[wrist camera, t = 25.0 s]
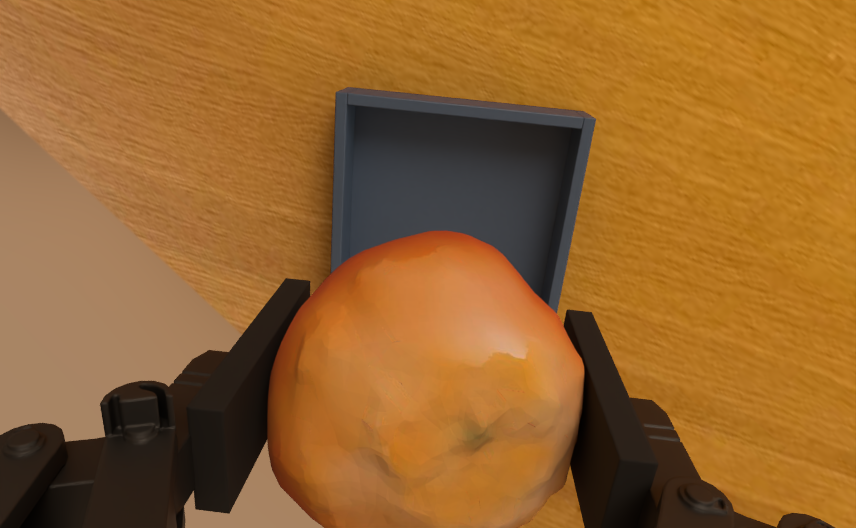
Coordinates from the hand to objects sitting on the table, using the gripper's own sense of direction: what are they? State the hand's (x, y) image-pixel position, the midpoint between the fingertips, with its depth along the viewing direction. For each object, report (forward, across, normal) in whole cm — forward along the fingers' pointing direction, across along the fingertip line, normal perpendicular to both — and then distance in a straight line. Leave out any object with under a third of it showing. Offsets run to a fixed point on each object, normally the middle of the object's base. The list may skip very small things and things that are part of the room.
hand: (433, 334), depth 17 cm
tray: (+17, 0, -1) cm, 17 cm away
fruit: (0, 0, 0) cm, 0 cm away
